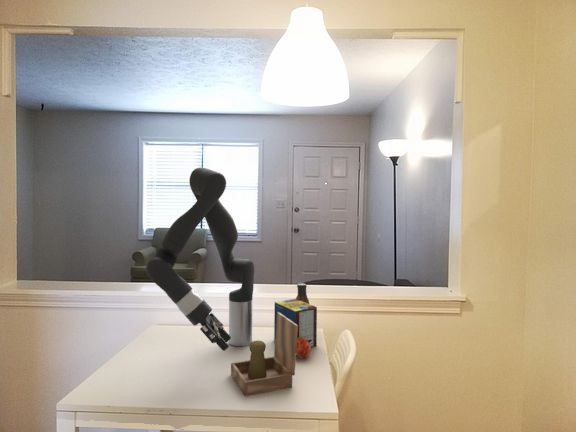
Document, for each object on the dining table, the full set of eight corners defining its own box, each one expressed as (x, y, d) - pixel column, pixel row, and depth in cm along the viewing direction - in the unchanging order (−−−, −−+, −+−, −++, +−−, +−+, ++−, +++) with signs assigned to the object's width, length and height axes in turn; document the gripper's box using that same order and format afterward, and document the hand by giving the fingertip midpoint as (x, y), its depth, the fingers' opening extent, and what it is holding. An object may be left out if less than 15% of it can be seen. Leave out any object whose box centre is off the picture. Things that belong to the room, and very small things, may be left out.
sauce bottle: (311, 328, 182) (312, 283, 181) (306, 332, 176) (307, 286, 175) (298, 325, 185) (298, 282, 184) (292, 330, 179) (293, 284, 178)
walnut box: (230, 375, 133) (231, 363, 133) (274, 368, 139) (274, 356, 139) (244, 396, 120) (244, 382, 119) (292, 387, 125) (292, 374, 125)
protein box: (294, 334, 173) (295, 298, 172) (316, 346, 160) (317, 306, 159) (273, 339, 167) (273, 301, 166) (294, 351, 154) (295, 310, 154)
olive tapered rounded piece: (264, 380, 128) (264, 345, 127) (245, 378, 129) (245, 344, 128) (268, 372, 134) (269, 339, 133) (250, 370, 135) (251, 337, 134)
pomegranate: (293, 367, 145) (316, 351, 144) (281, 349, 147) (304, 334, 145) (297, 361, 153) (318, 346, 151) (286, 344, 154) (307, 329, 153)
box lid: (276, 312, 139) (279, 312, 139) (273, 357, 139) (276, 357, 139) (295, 325, 125) (298, 325, 125) (291, 375, 125) (294, 375, 126)
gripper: (199, 304, 124) (235, 343, 125) (205, 294, 138) (237, 329, 139) (180, 320, 124) (216, 360, 124) (188, 309, 138) (221, 344, 139)
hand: (227, 344), depth 132 cm, fingers open, 8 cm apart
